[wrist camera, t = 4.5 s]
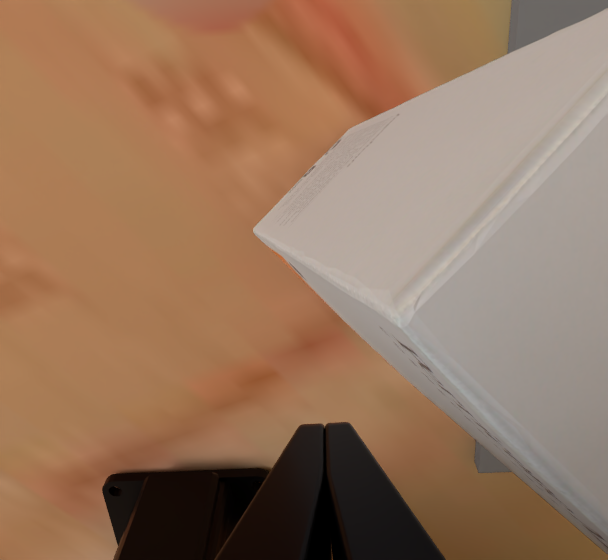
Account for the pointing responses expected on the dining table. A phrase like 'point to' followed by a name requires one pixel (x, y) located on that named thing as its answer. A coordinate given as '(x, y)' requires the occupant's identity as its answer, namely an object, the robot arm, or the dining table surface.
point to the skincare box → (482, 256)
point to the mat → (523, 31)
